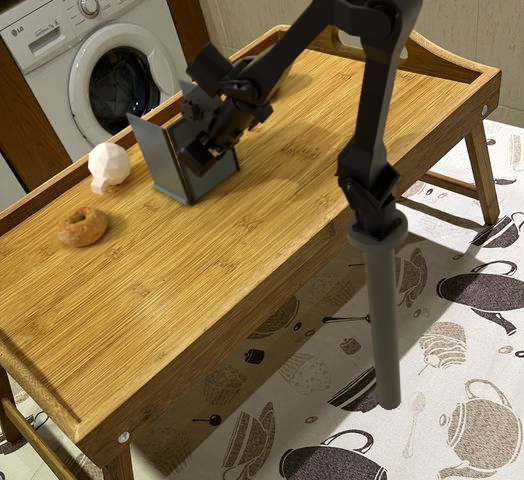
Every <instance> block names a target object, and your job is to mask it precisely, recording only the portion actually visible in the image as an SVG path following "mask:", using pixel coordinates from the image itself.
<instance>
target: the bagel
mask: <svg viewBox="0 0 524 480" xmlns="http://www.w3.org/2000/svg"><path fill="white" fill-rule="evenodd" d="M58 222H59V223H58V224H57V226H56V234H57V235H56V236H57V238H58V239H59V241H61V242H63V243H64V244H65V245H69V246H72V247H74V248H81V247H85V246H89V245H92V244H94V243H95V242H97V241H99V240H100V239H101V238H102V236H103V235H104V234H105V233H106V230H107V229H108V227H109V221H108V216H107V214H106V212H104V211H103V210H102V209H99V208H94V207H90V206H80V207H77V208H76V209H75V210H73V211H72V212H70V213H69V214H67V215H65V216H63V217H62V218H60V220H59V221H58Z"/></svg>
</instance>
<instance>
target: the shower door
mask: <svg viewBox="0 0 524 480" xmlns="http://www.w3.org/2000/svg"><path fill="white" fill-rule="evenodd" d="M202 124H203V122H200V121H198V120H196V121H194V122H193V123H192V122H190V121H188V120H187V119H185V118H184V117H183V116H182V115H181V116H180V117H179V118H177V119H176V120H174V121H173V122H172V123H170V124H168V125H167V126H165V128H166V130H167V133H168V136H169V139H170V141H171V144H172V147H173V150H174V153H175V155H176V158H177V161H178V164H179V165H180V168H181V171H182V174H183V176H184V179H185V182H186V185H187V188H188V190H189V193H190V196H191V199H192V200H193V201H192V202H195V201H197V200H198V199H199V198H200V197H202V196H203V195H205V194H206V193H207V192H209V191H210V190H211V189H213V188H214V187H215V186H217V185H218V184H219V183H221V182H222V181H223V180H224V179H226V178H227V177H229V176H230V175H232V174H233V173H234V172H236V171H238V170H237V169H236V166H235V162H234V158H233V155H232V151H231V149H230V150H228V151H225V152H226V153H227V154H226V155H225V156H224V157H223V158H222V159H221V160H220V161H218V162H216V164H215V165H214V166H213V167H212V168H211V169H210V170H209V171H208V172H207V173H206V174H205V175H204V176H203V177H202V178H199V177H197V176H196V175H195V174H194V173H193V172H192V171H191V170H190V169H189V168H188V167H187V166H186V165H185V164H184V163H183V162H182V161H181V160H180V159H179V158H178V157H177V153H176V152H177V150H178V149H179V147H180V146H181V145H182V144H184V143H185V142H186V141H187V140H188V139H189V138H190V137H196V135H197V134H199V133H200V132H201V131H202V130H203V129H202V128H201V126H202ZM207 133H208V131H207Z"/></svg>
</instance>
